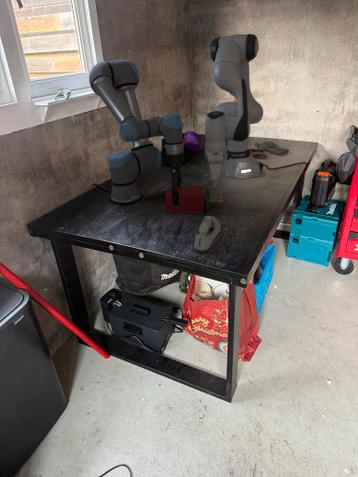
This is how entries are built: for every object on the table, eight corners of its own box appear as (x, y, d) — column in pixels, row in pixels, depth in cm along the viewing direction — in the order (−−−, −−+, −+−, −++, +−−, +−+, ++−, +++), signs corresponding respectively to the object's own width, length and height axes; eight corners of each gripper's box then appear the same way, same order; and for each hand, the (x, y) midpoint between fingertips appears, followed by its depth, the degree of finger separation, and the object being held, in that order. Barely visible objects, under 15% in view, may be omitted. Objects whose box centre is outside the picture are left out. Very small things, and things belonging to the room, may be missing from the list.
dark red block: (204, 203, 158) (204, 185, 153) (204, 213, 148) (203, 195, 144) (169, 203, 159) (167, 186, 155) (166, 213, 150) (165, 195, 145)
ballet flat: (224, 223, 138) (224, 206, 134) (211, 254, 118) (211, 235, 114) (205, 222, 140) (204, 205, 136) (189, 252, 120) (188, 233, 116)
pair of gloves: (253, 161, 209) (253, 153, 207) (231, 152, 230) (232, 144, 227) (291, 153, 219) (292, 145, 216) (267, 145, 240) (268, 138, 237)
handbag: (171, 167, 207) (169, 126, 195) (160, 165, 212) (156, 125, 199) (188, 158, 222) (187, 119, 209) (177, 157, 226) (175, 119, 214)
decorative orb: (204, 151, 235) (204, 129, 228) (194, 156, 225) (193, 134, 217) (186, 149, 243) (186, 128, 235) (175, 154, 232) (174, 132, 224)
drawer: (221, 201, 156) (221, 187, 152) (222, 210, 147) (222, 196, 144) (175, 202, 158) (175, 188, 155) (173, 211, 150) (172, 196, 146)
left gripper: (169, 146, 152) (172, 190, 163) (162, 161, 131) (166, 210, 142) (185, 145, 151) (187, 190, 162) (181, 160, 131) (183, 210, 141)
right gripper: (208, 146, 149) (208, 175, 156) (207, 159, 131) (207, 192, 138) (222, 146, 148) (221, 175, 155) (223, 159, 131) (223, 191, 138)
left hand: (177, 199), depth 152 cm, fingers closed on dark red block, 11 cm apart
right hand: (215, 183), depth 147 cm, fingers open, 6 cm apart
